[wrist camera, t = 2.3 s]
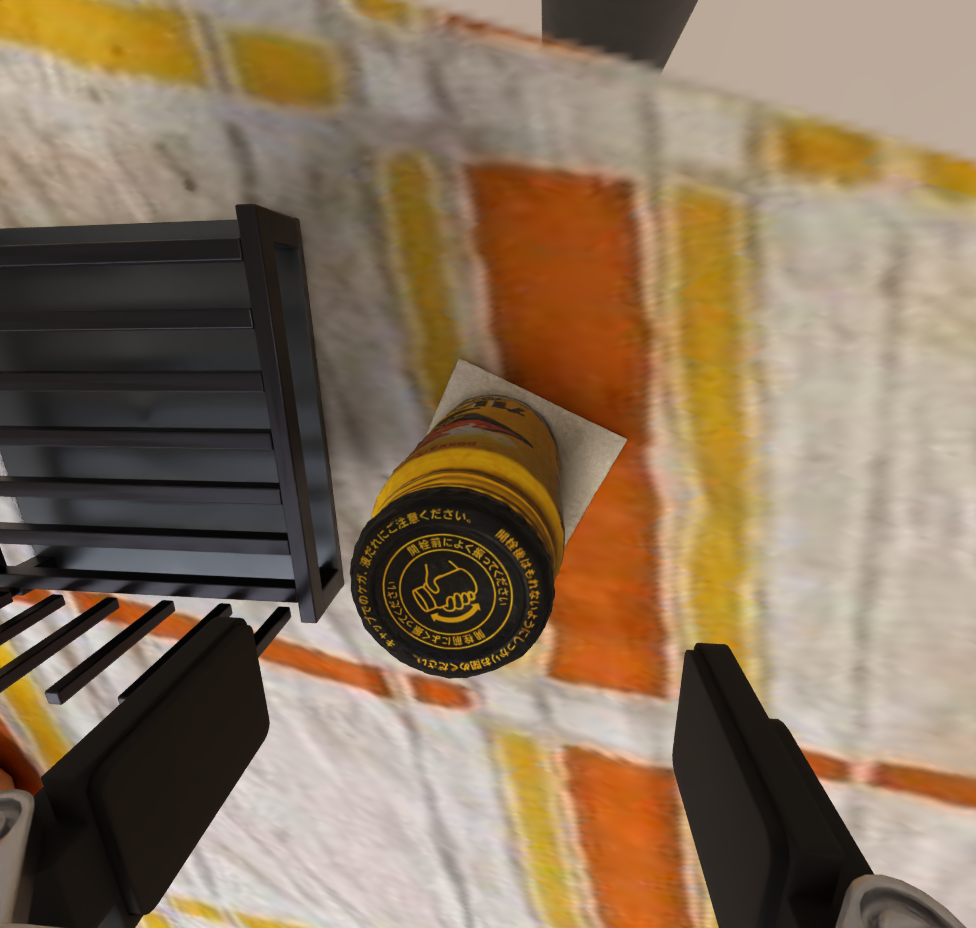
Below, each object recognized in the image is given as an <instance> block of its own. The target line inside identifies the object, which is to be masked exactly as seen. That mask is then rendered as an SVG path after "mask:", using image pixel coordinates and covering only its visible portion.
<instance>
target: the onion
mask: <svg viewBox="0 0 976 928" xmlns="http://www.w3.org/2000/svg"><path fill="white" fill-rule="evenodd" d="M12 789H15V786H14V783H13V778H12V777H11V776H10V775H9V774H7V773H6V772H5V771H3V770H2V769H1V768H0V791H3V790H12Z"/></svg>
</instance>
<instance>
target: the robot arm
mask: <svg viewBox="0 0 976 928" xmlns="http://www.w3.org/2000/svg"><path fill="white" fill-rule="evenodd" d="M269 724H270V722H269V715H268V710H267V704H266V699H265V693H264V688H263V682H262V677H261V671H260V666H259V661H258V655H257V650H256V644H255V639H254V633H253V629H252V627H251V626H249V625H247V623H246V621H245V620H244V619H242V618H232V617H215V618H213V619H212V620H210V621H209V622H208V623H207V624H206V625H205V626H204V627H203V628H202V629H201V630H200V631H199V632H197V633H196V634H195V635H194V636H193V637H192V638H191V639H190V640H189V641H188V642H187V643H186V644H185V645H183V646H182V647H181V648H180V649H179V650H178V651H177V652H176V653H175V654H174V655H173V656H172V657H170V658H169V659H168V660H167V661H166V662H165V663H164V664H163V665H162V666H161V667H160V668H159V669H158V670H156V671H155V672H154V673H153V674H152V675H151V676H150V677H149V678H148V679H147V680H146V681H145V682H143V683H142V684H141V685H140V686H139V687H138V688H137V689H136V690H135V691H134V692H133V693H132V694H131V695H129V696H128V697H127V698H126V699H125V700H124V701H123V702H122V703H121V704H120V705H119V706H118V707H116V708H115V709H114V710H113V711H112V712H111V713H110V714H109V715H108V716H107V717H106V718H105V719H104V720H102V721H101V722H100V723H99V724H98V725H97V726H96V727H95V728H94V729H93V730H92V731H91V732H89V733H88V734H87V735H86V736H85V737H84V738H83V739H82V740H81V741H80V742H79V743H78V744H77V745H75V746H74V747H73V748H72V749H71V750H70V751H69V752H68V753H67V754H66V755H65V756H64V757H62V758H61V759H60V760H59V761H58V762H57V763H56V764H55V765H54V766H53V767H52V768H51V769H50V770H48V771H47V772H46V773H45V774H44V775H43V776H42V777H41V780H42V783H43V786H44V787H43V788H42V789H41V790H40V791H39V792H38V793H37V794H36V795H35V796H34V797H33V796H32V795H31V794H30V793H29V792H28V791H25V790H20V789H12V790H3V791H0V928H135V927H136V926H137V924H138V923H139V921H140V920H141V918H142V917H143V915H147V914H149V913H150V912H151V911H152V910H153V909H154V908H155V907H156V906H157V904H158V903H159V902H160V900H161V898H162V897H163V895H164V894H165V892H166V891H167V889H168V888H169V886H170V885H171V883H172V882H173V880H174V879H175V877H176V875H177V874H178V872H179V871H180V869H181V868H182V866H183V865H184V863H185V862H186V860H187V859H188V857H189V855H190V854H191V852H192V851H193V849H194V848H195V846H196V845H197V843H198V842H199V840H200V839H201V837H202V835H203V834H204V832H205V831H206V829H207V828H208V826H209V825H210V823H211V822H212V820H213V819H214V817H215V815H216V814H217V812H218V811H219V809H220V808H221V806H222V805H223V803H224V802H225V800H226V799H227V797H228V796H229V794H230V792H231V791H232V789H233V788H234V786H235V785H236V783H237V782H238V780H239V779H240V777H241V776H242V774H243V772H244V771H245V769H246V768H247V766H248V765H249V763H250V762H251V760H252V759H253V757H254V756H255V754H256V752H257V751H258V749H259V748H260V746H261V745H262V743H263V742H264V740H265V738H266V736H267V734H268V730H269ZM672 757H673V768H674V773H675V776H676V780H677V783H678V787H679V790H680V794H681V797H682V801H683V804H684V808H685V811H686V815H687V818H688V822H689V825H690V829H691V832H692V836H693V839H694V843H695V846H696V850H697V853H698V856H699V860H700V863H701V867H702V870H703V874H704V877H705V881H706V884H707V888H708V891H709V895H710V898H711V902H712V905H713V909H714V912H715V916H716V919H717V923H718V926H719V928H966V927H965V926H964V925H963V924H962V923H961V922H960V921H959V920H958V919H957V918H956V917H955V916H954V915H953V914H952V913H951V912H950V911H949V910H948V909H947V908H945V907H944V906H943V905H941V904H940V903H939V902H937V901H936V900H934V899H933V898H932V897H930V896H929V895H928V894H926V893H925V892H923V891H921V890H919V889H917V888H916V887H914V886H912V885H910V884H908V883H906V882H904V881H902V880H898V879H895V878H892V877H888V876H885V875H874V873H873V871H872V870H871V868H870V866H869V865H868V863H867V861H866V860H865V858H864V856H863V854H862V853H861V851H860V849H859V848H858V846H857V844H856V843H855V841H854V839H853V838H852V836H851V834H850V832H849V831H848V829H847V827H846V826H845V824H844V822H843V821H842V819H841V817H840V816H839V814H838V812H837V810H836V809H835V807H834V805H833V804H832V802H831V800H830V799H829V797H828V795H827V794H826V792H825V790H824V789H823V787H822V785H821V783H820V782H819V780H818V778H817V777H816V775H815V773H814V772H813V770H812V768H811V767H810V765H809V763H808V761H807V760H806V758H805V756H804V755H803V753H802V751H801V750H800V748H799V746H798V745H797V743H796V741H795V739H794V738H793V736H792V734H791V733H790V731H789V730H788V728H787V727H786V725H785V724H784V723H783V722H782V721H780V720H779V719H769V718H768V716H767V714H766V712H765V710H764V709H763V707H762V705H761V703H760V701H759V700H758V698H757V696H756V694H755V692H754V691H753V689H752V687H751V685H750V684H749V682H748V680H747V678H746V676H745V675H744V673H743V671H742V669H741V667H740V666H739V664H738V662H737V660H736V658H735V657H734V655H733V653H732V651H731V650H730V648H729V647H728V646H727V645H725V644H708V643H697V644H696V645H695V647H694V650H686V652H685V656H684V664H683V672H682V680H681V688H680V696H679V704H678V712H677V720H676V728H675V736H674V744H673V754H672Z"/></svg>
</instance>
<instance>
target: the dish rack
mask: <svg viewBox="0 0 976 928" xmlns="http://www.w3.org/2000/svg"><path fill="white" fill-rule="evenodd" d="M235 208H236V214H237V220H216V221H190V222H164V223H138V224H112V225H86V226H59V227H33V228H7V229H0V453H1V456H2V459H3V462H4V465H5V467H6V470H7V473H8V476H0V496H5V497H16V500H17V503H18V506H19V508H20V511H21V514H22V517H23V520H24V523H8V522H0V543H2V544H26V545H32V547H33V549H34V552H35V555H36V556H35V557H33V558H31V559H29V560H27V561H25V562H23V563H21V564H19V565H17V566H7V565H6V562H5V559H4V556H3V554H2V551H1V548H0V609H1V608H3V607H4V606H6V605H8V604H10V603H11V602H13V599H12V597H14V596H16V595H22V596H23V595H25V594H27V593H29V592H30V591H32V590H34V589H47V590H66V591H85V592H104V593H123V594H142V595H161V596H180V597H199V598H218V599H237V600H256V601H275V602H294V603H297V602H298V604H299V610H300V617H301V622H304V623H317V622H318V620H319V619H320V618H321V616H322V615H323V613H324V612H325V610H326V609H327V607H328V606H329V605H330V603H331V602H332V600H333V599H334V598H335V596H336V595H337V593H338V592H339V591H340V589H341V588H342V587H343V586H344V581H343V573H342V565H341V557H340V548H339V540H338V532H337V524H336V516H335V508H334V500H333V492H332V484H331V476H330V467H329V459H328V451H327V443H326V435H325V427H324V419H323V411H322V403H321V394H320V386H319V378H318V370H317V362H316V354H315V346H314V338H313V330H312V322H311V313H310V305H309V297H308V289H307V281H306V273H305V265H304V257H303V249H302V240H301V232H300V224H299V219H297V218H293V217H290V216H287V215H284V214H281V213H279V212H276V211H273V210H270V209H267V208H265V207H262V206H259V205H256V204H237V205H235ZM64 605H65V601H64V598H63V595H56V594H53V595H51V596H49V597H47V598H46V599H44V600H42V601H40V602H39V603H37V604H35V605H34V606H32V607H30V608H29V609H27V610H25V611H23V612H22V613H20V614H18V615H17V616H15V617H13V618H12V619H10V620H8V621H7V622H5V623H3V624H1V625H0V645H2V644H3V643H5V642H7V641H8V640H10V639H11V638H13V637H15V636H16V635H18V634H19V633H21V632H22V631H24V630H26V629H27V628H29V627H30V626H32V625H34V624H35V623H37V622H38V621H40V620H42V619H43V618H45V617H46V616H48V615H50V614H51V613H53V612H54V611H56V610H58V609H59V608H61V607H62V606H64ZM119 607H120V606H119V603H118V599H117V598H112V597H107V598H105V599H103V600H102V601H100V602H99V603H97V604H96V605H94V606H93V607H91V608H90V609H88V610H87V611H85V612H84V613H82V614H81V615H80V616H78V617H77V618H75V619H74V620H72V621H71V622H69V623H68V624H66V625H65V626H63V627H62V628H60V629H59V630H57V631H56V632H54V633H53V634H51V635H50V636H48V637H47V638H45V639H44V640H42V641H41V642H39V643H38V644H36V645H35V646H33V647H32V648H30V649H29V650H27V651H26V652H24V653H23V654H21V655H20V656H18V657H17V658H15V659H14V660H12V661H11V662H9V663H8V664H6V665H5V666H3V667H2V668H0V693H1V692H2V691H4V690H5V689H6V688H8V687H9V686H11V685H12V684H13V683H15V682H16V681H18V680H19V679H20V678H22V677H23V676H25V675H26V674H27V673H29V672H30V671H32V670H33V669H34V668H36V667H37V666H39V665H40V664H41V663H43V662H44V661H46V660H47V659H48V658H50V657H51V656H53V655H54V654H55V653H57V652H58V651H60V650H61V649H62V648H64V647H65V646H67V645H68V644H69V643H71V642H72V641H74V640H75V639H76V638H78V637H79V636H81V635H82V634H83V633H85V632H86V631H88V630H89V629H90V628H92V627H93V626H95V625H96V624H97V623H99V622H100V621H102V620H103V619H104V618H106V617H107V616H109V615H110V614H111V613H113V612H114V611H116V610H117V609H118V608H119ZM174 611H175V607H174V603H173V601H168V600H163V601H161V602H160V603H158V604H157V605H156V606H154V607H153V608H152V609H150V610H149V611H148V612H147V613H145V614H144V615H143V616H141V617H140V618H139V619H138V620H136V621H135V622H134V623H132V624H131V625H130V626H129V627H127V628H126V629H125V630H123V631H122V632H121V633H120V634H118V635H117V636H116V637H114V638H113V639H112V640H110V641H109V642H108V643H107V644H105V645H104V646H103V647H101V648H100V649H99V650H98V651H96V652H95V653H94V654H92V655H91V656H90V657H89V658H87V659H86V660H85V661H83V662H82V663H81V664H80V665H78V666H77V667H76V668H74V669H73V670H72V671H70V672H69V673H68V674H67V675H65V676H64V677H63V678H61V679H60V680H59V681H58V682H56V683H55V684H54V685H52V686H51V687H50V688H49V689H47V690H46V691H45V695H46V698H47V700H48V703H50V704H59V705H61V704H63V703H65V702H66V701H67V700H68V699H70V698H71V697H72V696H73V695H74V694H76V693H77V692H78V691H79V690H80V689H82V688H83V687H84V686H85V685H86V684H88V683H89V682H90V681H91V680H92V679H94V678H95V677H96V676H97V675H98V674H100V673H101V672H102V671H103V670H104V669H106V668H107V667H108V666H109V665H110V664H112V663H113V662H114V661H115V660H116V659H118V658H119V657H120V656H121V655H123V654H124V653H125V652H126V651H127V650H129V649H130V648H131V647H132V646H133V645H135V644H136V643H137V642H138V641H139V640H141V639H142V638H143V637H144V636H145V635H147V634H148V633H149V632H150V631H151V630H153V629H154V628H155V627H156V626H157V625H159V624H160V623H161V622H162V621H163V620H165V619H166V618H167V617H168V616H169V615H171V614H172V613H173V612H174ZM231 615H232V609H231V605H230V604H224V603H220V604H218V605H217V606H216V607H215V608H214V609H213V610H212V611H211V612H210V613H209V614H208V615H206V616H205V617H204V618H203V619H202V620H201V621H200V622H199V623H198V624H197V625H196V626H195V627H193V628H192V629H191V630H190V631H189V632H188V633H187V634H186V635H185V636H184V637H183V638H182V639H180V640H179V641H178V642H177V643H176V644H175V645H174V646H173V647H172V648H171V649H170V650H168V651H167V652H166V653H165V654H164V655H163V656H162V657H161V658H160V659H159V660H158V661H157V662H155V663H154V664H153V665H152V666H151V667H150V668H149V669H148V670H147V671H146V672H145V673H143V674H142V675H141V676H140V677H139V678H138V679H137V680H136V681H135V682H134V683H133V684H132V685H130V686H129V687H128V688H127V689H126V690H125V691H124V692H123V693H122V694H121V695H120V696H119V697H118V701H119V704H121V703H122V702H123V701H124V700H125V699H126V698H127V697H128V696H129V695H131V694H132V693H133V692H134V691H135V690H136V689H137V688H138V687H139V686H140V685H141V684H142V683H143V682H145V681H146V680H147V679H148V678H149V677H150V676H151V675H152V674H153V673H154V672H155V671H156V670H158V669H159V668H160V667H161V666H162V665H163V664H164V663H165V662H166V661H167V660H168V659H169V658H170V657H172V656H173V655H174V654H175V653H176V652H177V651H178V650H179V649H180V648H181V647H182V646H183V645H185V644H186V643H187V642H188V641H189V640H190V639H191V638H192V637H193V636H194V635H195V634H196V633H197V632H199V631H200V630H201V629H202V628H203V627H204V626H205V625H206V624H207V623H208V622H209V621H210V620H212V619H213V618H215V617H230V616H231ZM290 618H291V612H290V607H278V608H277V609H276V610H275V611H274V612H273V613H272V615H271V616H270V617H269V618H268V619H267V620H266V621H265V622H264V624H263V625H262V626H261V627H260V628H259V629H258V630H257V632H256V633H255V634H254V639H255V644H256V650H257V655H258V658H259V656H260V655H261V654H262V653H263V651H264V650H265V649H266V648H267V646H268V645H269V644H270V643H271V642H272V640H273V639H274V638H275V637H276V635H277V634H278V633H279V632H280V630H281V629H282V628H283V627H284V625H285V624H286V623H287V622H288V621H289V619H290Z"/></svg>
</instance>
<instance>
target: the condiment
mask: <svg viewBox="0 0 976 928" xmlns="http://www.w3.org/2000/svg"><path fill="white" fill-rule="evenodd" d="M626 441H627V439H626V438H624V437H622V436H620V435H617V434H615V433H613V432H611V431H609V430H607V429H605V428H603V427H601V426H599V425H597V424H595V423H592V422H590V421H588V420H586V419H584V418H582V417H580V416H578V415H576V414H574V413H572V412H569V411H567V410H565V409H563V408H561V407H559V406H557V405H555V404H553V403H551V402H549V401H547V400H545V399H543V398H541V397H539V396H537V395H535V394H533V393H531V392H529V391H527V390H524V389H522V388H520V387H518V386H516V385H514V384H512V383H510V382H508V381H506V380H504V379H502V378H500V377H498V376H496V375H493V374H491V373H489V372H487V371H485V370H483V369H481V368H479V367H477V366H475V365H472V364H470V363H468V362H466V361H464V360H461V359H458V361H457V364H456V366H455V368H454V371H453V373H452V375H451V378H450V380H449V382H448V385H447V387H446V389H445V392H444V394H443V397H442V399H441V401H440V404H439V406H438V408H437V411H436V413H435V415H434V418H433V420H432V422H431V425H430V427H429V429H428V432H427V434H426V436H425V438H424V439H423V440H422V441H421V442H419V444H418V445H417V447H416V448H415V450H414V451H413V452H412V453H411V454H410V455H409V457H408V458H407V459H406V460H405V461H404V462H402V463H401V464H400V465H399V466H398V467H397V468H396V469H394V471H393V474H392V476H391V477H390V478H389V480H388V481H387V483H386V484H385V486H384V487H383V489H382V490H381V492H380V494H379V496H378V497H377V499H376V503H375V505H374V508H373V512H372V519H371V520H370V521H368V522H367V524H366V526H365V527H364V528H363V530H362V532H361V535H360V537H359V540H358V541H357V543H356V545H355V548H354V554H353V558H352V559H351V568H350V576H351V592H352V597H353V601H354V603H355V605H356V608H357V611H358V614H359V616H360V617H361V619H362V623H363V626H364V627H365V629H366V630H367V631H368V632H369V633H370V634H371V635H372V637H373V638H374V639H375V640H376V641H377V642H378V643H379V644H380V645H381V646H382V647H383V648H385V649H386V650H387V651H388V652H389V653H390V654H391V655H392V656H394V657H395V658H397V659H398V660H399V661H400V662H402V663H405V664H407V665H408V666H410V667H413V668H415V669H418V670H420V671H423V672H424V673H427V674H430V675H437V676H441V677H445V678H449V679H450V678H468V677H471V676H476V675H480V674H483V673H486V672H490V671H493V670H496V669H498V668H500V667H502V666H504V665H506V664H508V663H510V662H512V661H515V660H516V659H518V658H520V657H522V656H523V655H524V654H525V653H526V652H527V651H528V650H529V649H530V648H531V647H532V645H533V644H534V643H535V642H536V641H537V639H538V638H539V636H540V634H541V633H542V631H543V629H544V628H545V626H546V623H547V621H548V618H549V616H550V614H551V612H552V606H553V600H554V597H555V589H554V581H555V579H556V577H557V575H558V573H559V570H560V567H561V564H562V560H563V554H564V547H565V545H566V543H567V542H568V540H569V538H570V536H571V534H572V533H573V531H574V529H575V528H576V526H577V524H578V522H579V520H580V519H581V517H582V515H583V513H584V512H585V510H586V509H587V507H588V505H589V503H590V502H591V500H592V498H593V496H594V493H595V492H596V491H597V490H598V488H599V486H600V485H601V483H602V481H603V480H604V478H605V477H606V475H607V473H608V471H609V469H610V468H611V466H612V464H613V462H614V461H615V460H616V458H617V456H618V455H619V453H620V451H621V449H622V448H623V446H624V444H625V443H626Z"/></svg>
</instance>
